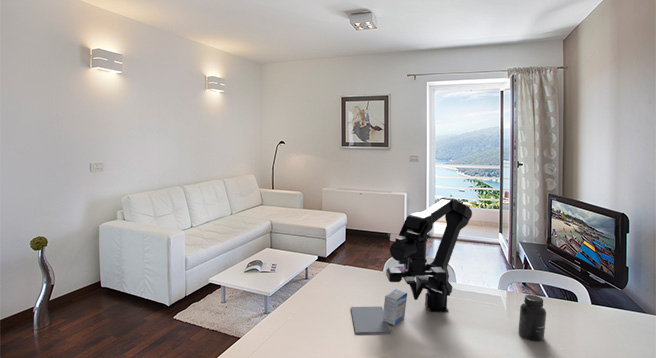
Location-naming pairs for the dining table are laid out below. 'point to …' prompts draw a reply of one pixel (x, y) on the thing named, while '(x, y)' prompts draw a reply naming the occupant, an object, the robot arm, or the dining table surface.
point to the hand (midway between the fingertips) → (415, 299)
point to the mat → (369, 320)
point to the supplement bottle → (532, 318)
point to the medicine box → (394, 306)
